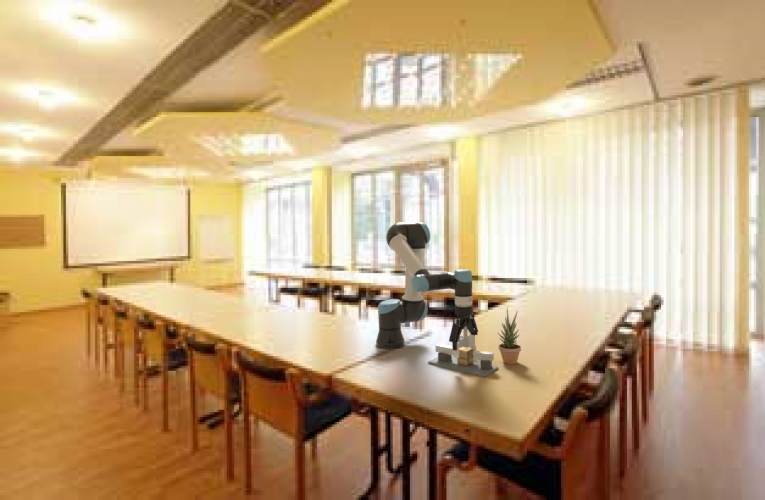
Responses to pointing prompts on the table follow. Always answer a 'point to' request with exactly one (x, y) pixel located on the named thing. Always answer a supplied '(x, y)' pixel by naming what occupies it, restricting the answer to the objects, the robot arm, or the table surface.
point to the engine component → (464, 340)
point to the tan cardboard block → (465, 357)
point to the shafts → (477, 354)
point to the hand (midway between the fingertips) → (464, 353)
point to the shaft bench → (451, 363)
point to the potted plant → (509, 342)
